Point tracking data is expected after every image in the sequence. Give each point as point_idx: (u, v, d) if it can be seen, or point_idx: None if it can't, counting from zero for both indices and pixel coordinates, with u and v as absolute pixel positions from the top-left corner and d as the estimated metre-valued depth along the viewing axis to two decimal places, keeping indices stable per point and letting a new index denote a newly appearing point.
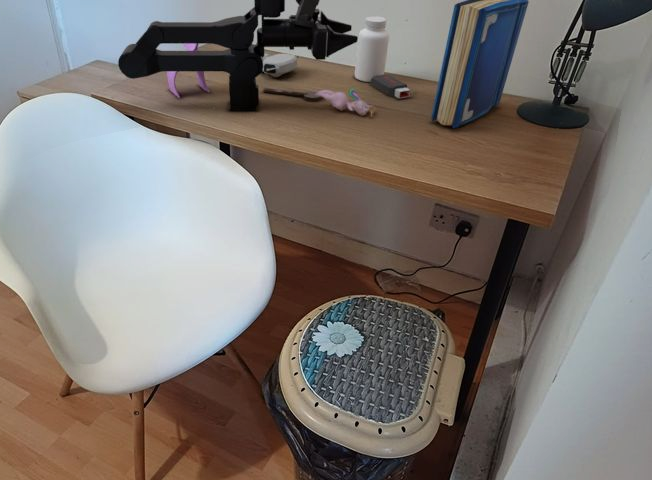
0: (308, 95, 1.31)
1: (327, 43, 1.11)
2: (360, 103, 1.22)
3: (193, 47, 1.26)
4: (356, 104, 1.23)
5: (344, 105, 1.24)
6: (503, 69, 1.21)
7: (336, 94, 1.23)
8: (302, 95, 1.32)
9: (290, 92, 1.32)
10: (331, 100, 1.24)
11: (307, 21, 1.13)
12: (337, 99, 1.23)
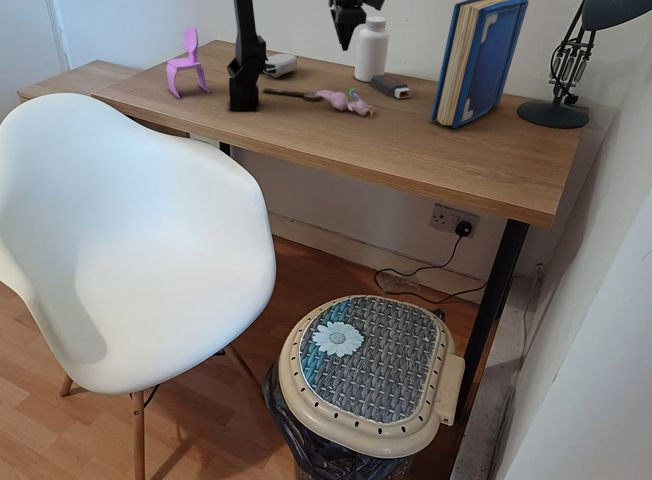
0: (308, 95, 1.31)
1: None
2: (360, 103, 1.22)
3: (193, 47, 1.26)
4: (356, 104, 1.23)
5: (344, 105, 1.24)
6: (503, 69, 1.21)
7: (336, 94, 1.23)
8: (302, 95, 1.32)
9: (290, 92, 1.32)
10: (331, 100, 1.24)
11: None
12: (337, 99, 1.23)
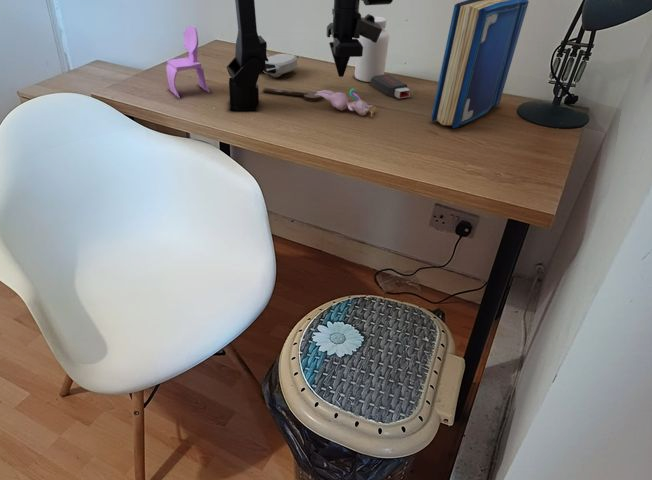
0: (308, 95, 1.31)
1: None
2: (360, 103, 1.22)
3: (193, 47, 1.26)
4: (356, 104, 1.23)
5: (344, 105, 1.24)
6: (503, 69, 1.21)
7: (336, 94, 1.23)
8: (302, 95, 1.32)
9: (290, 92, 1.32)
10: (331, 100, 1.24)
11: (359, 32, 1.20)
12: (337, 99, 1.23)
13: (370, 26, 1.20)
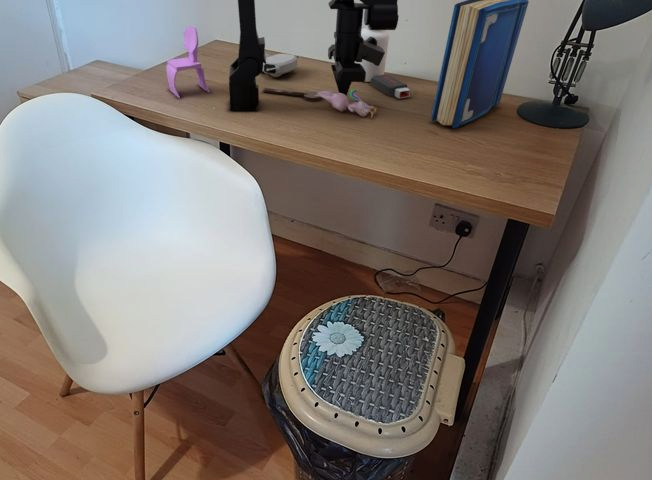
0: (308, 95, 1.31)
1: None
2: (360, 104, 1.22)
3: (193, 47, 1.26)
4: (356, 105, 1.22)
5: (344, 106, 1.24)
6: (503, 69, 1.21)
7: (336, 95, 1.23)
8: (302, 95, 1.32)
9: (290, 92, 1.32)
10: (331, 101, 1.23)
11: (362, 55, 1.18)
12: (337, 100, 1.23)
13: (373, 50, 1.18)
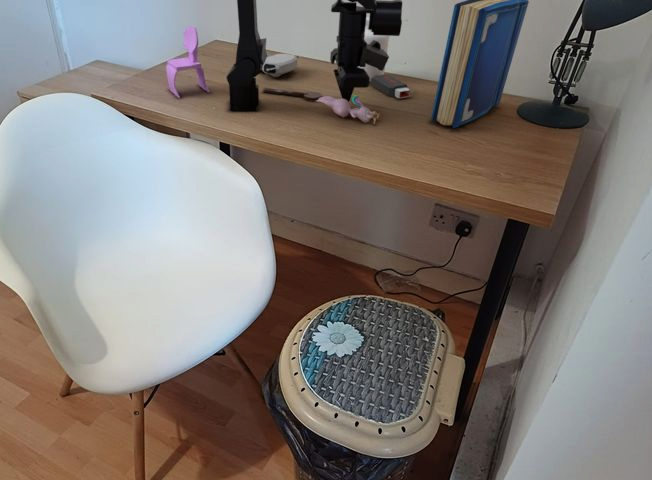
0: (308, 95, 1.31)
1: None
2: (363, 110, 1.19)
3: (193, 47, 1.26)
4: (359, 111, 1.20)
5: (346, 112, 1.21)
6: (503, 69, 1.21)
7: (338, 100, 1.20)
8: (302, 95, 1.32)
9: (290, 92, 1.32)
10: (333, 107, 1.21)
11: (365, 60, 1.15)
12: (339, 106, 1.20)
13: (376, 54, 1.15)
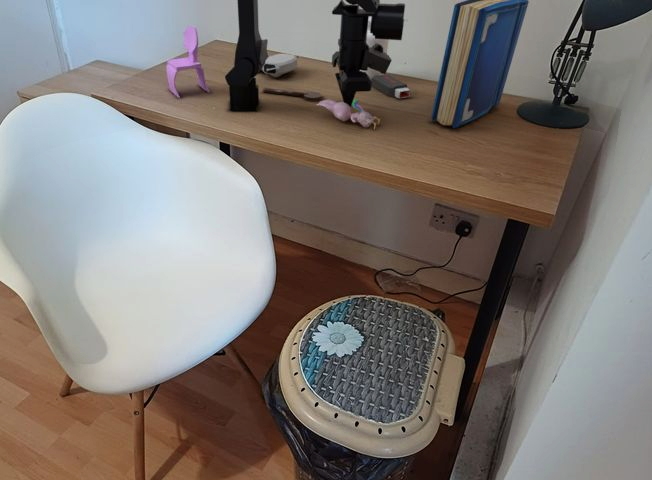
0: (308, 95, 1.31)
1: None
2: (363, 114, 1.17)
3: (193, 47, 1.26)
4: (359, 115, 1.18)
5: (347, 116, 1.19)
6: (503, 69, 1.21)
7: (339, 104, 1.18)
8: (302, 95, 1.32)
9: (290, 92, 1.32)
10: (333, 111, 1.19)
11: (367, 64, 1.13)
12: (339, 110, 1.18)
13: (379, 58, 1.13)
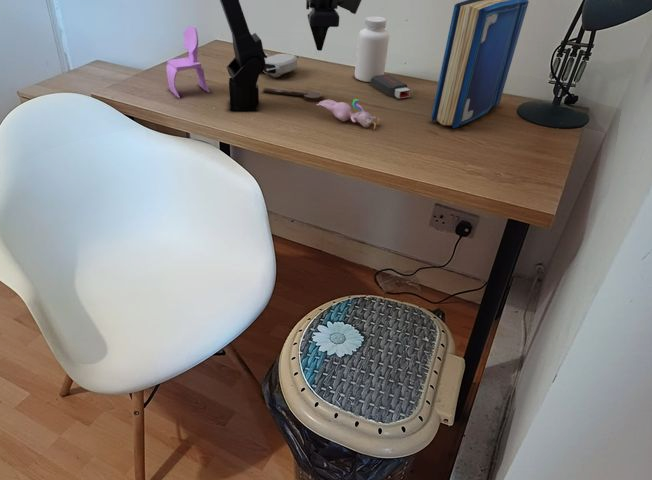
0: (308, 95, 1.31)
1: None
2: (363, 114, 1.17)
3: (193, 47, 1.26)
4: (359, 115, 1.18)
5: (347, 116, 1.19)
6: (503, 69, 1.21)
7: (339, 104, 1.18)
8: (302, 95, 1.32)
9: (290, 92, 1.32)
10: (333, 110, 1.19)
11: (337, 1, 1.15)
12: (339, 110, 1.18)
13: None
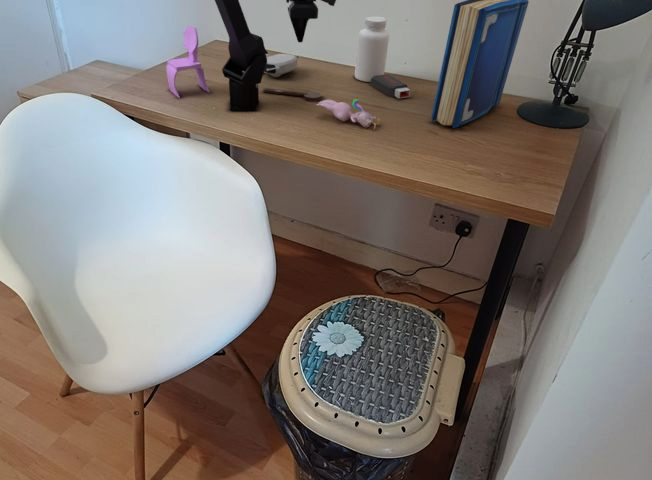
0: (308, 95, 1.31)
1: None
2: (363, 115, 1.17)
3: (193, 47, 1.26)
4: (359, 115, 1.18)
5: (347, 116, 1.19)
6: (503, 69, 1.21)
7: (339, 104, 1.18)
8: (302, 95, 1.32)
9: (290, 92, 1.32)
10: (333, 110, 1.19)
11: None
12: (339, 110, 1.18)
13: None
